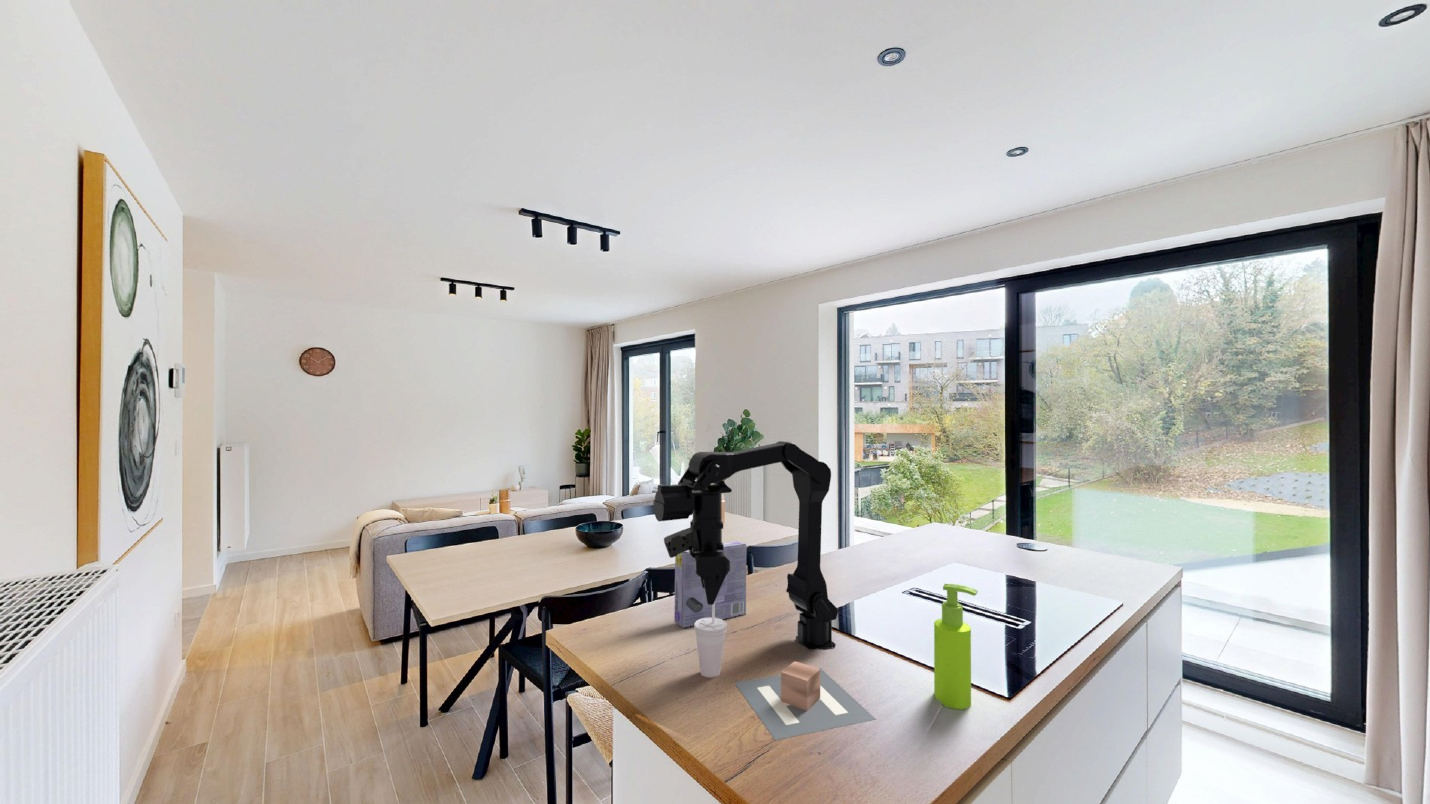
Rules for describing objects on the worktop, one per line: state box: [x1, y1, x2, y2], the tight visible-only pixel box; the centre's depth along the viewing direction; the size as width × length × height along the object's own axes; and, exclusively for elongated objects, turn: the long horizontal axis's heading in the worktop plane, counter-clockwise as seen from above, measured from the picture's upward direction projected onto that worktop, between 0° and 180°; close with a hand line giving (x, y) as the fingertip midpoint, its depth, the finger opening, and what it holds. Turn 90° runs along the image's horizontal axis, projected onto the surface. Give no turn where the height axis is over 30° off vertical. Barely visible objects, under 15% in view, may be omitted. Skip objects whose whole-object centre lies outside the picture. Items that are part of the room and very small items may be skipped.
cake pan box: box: [673, 541, 748, 629], centre depth 129 cm, size 19×5×18 cm, turn 121°
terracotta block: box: [780, 661, 820, 711], centre depth 92 cm, size 5×5×5 cm
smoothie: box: [693, 602, 728, 678], centre depth 102 cm, size 6×6×14 cm
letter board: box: [733, 667, 877, 741], centre depth 92 cm, size 18×18×1 cm
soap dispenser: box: [933, 583, 979, 710], centre depth 93 cm, size 6×7×20 cm
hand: (707, 595), depth 105 cm, fingers open, 9 cm apart
